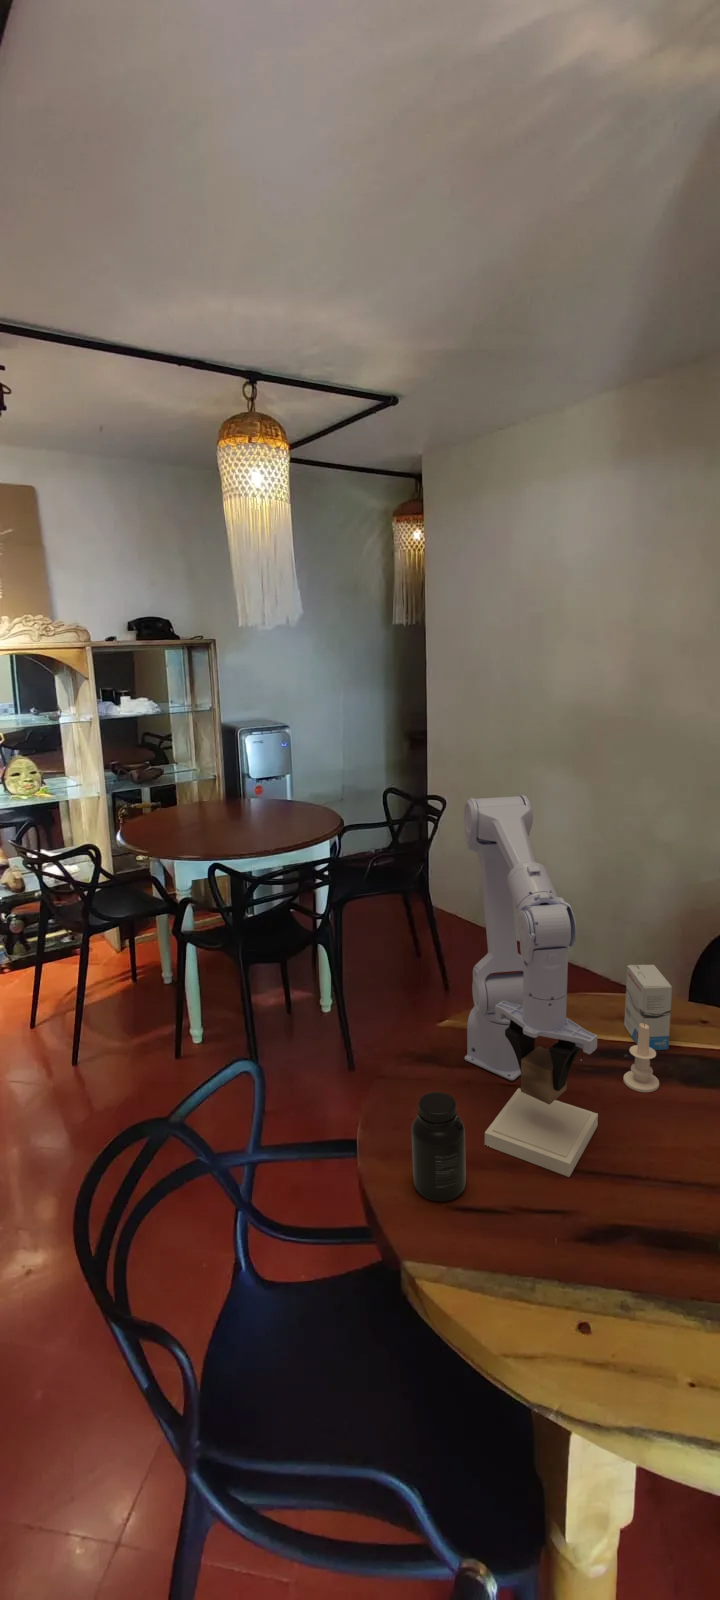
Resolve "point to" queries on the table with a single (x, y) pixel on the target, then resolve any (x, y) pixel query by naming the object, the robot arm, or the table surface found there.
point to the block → (539, 1076)
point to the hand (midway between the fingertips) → (543, 1079)
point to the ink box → (648, 1004)
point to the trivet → (542, 1132)
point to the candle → (642, 1064)
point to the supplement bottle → (438, 1148)
